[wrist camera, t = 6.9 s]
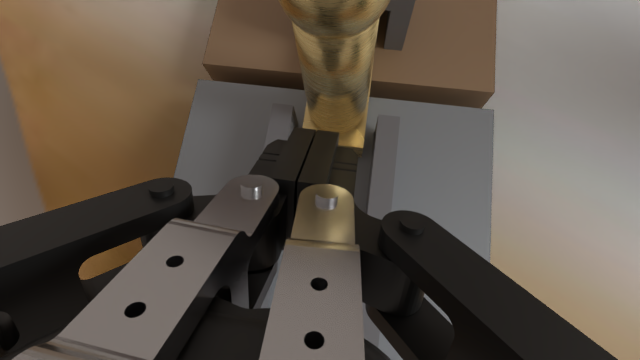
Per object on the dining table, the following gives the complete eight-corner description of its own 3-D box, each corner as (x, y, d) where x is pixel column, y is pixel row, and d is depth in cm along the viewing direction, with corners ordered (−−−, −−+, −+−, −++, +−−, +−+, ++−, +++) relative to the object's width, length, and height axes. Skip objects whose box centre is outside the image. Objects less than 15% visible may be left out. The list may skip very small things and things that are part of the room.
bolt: (365, 158, 18) (400, -8, 8) (299, 150, 19) (244, -20, 8) (383, 8, 21) (429, -282, 10) (323, 3, 21) (306, -284, 10)
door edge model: (463, 389, 18) (534, 454, 12) (161, 338, 20) (68, 369, 13) (479, -20, 25) (532, -132, 18) (248, -37, 26) (216, -147, 19)
